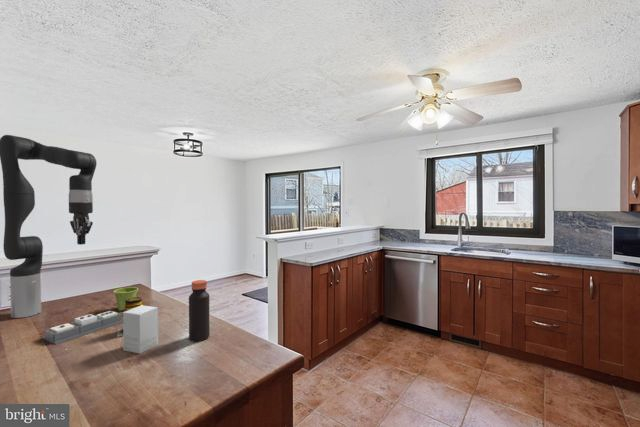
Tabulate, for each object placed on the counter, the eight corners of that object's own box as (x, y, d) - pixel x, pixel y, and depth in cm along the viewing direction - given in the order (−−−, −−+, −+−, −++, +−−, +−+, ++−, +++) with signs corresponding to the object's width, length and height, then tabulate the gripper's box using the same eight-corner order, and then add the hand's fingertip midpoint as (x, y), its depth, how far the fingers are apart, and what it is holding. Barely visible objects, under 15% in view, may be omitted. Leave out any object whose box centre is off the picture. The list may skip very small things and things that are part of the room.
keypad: (42, 338, 104) (42, 329, 104) (110, 317, 123) (110, 310, 123) (55, 344, 99) (55, 335, 99) (124, 321, 119) (124, 314, 119)
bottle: (213, 335, 107) (213, 280, 106) (198, 343, 101) (198, 285, 100) (199, 332, 110) (199, 278, 109) (184, 339, 104) (184, 282, 103)
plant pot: (133, 304, 140) (132, 285, 140) (142, 308, 135) (142, 289, 135) (110, 309, 133) (109, 290, 133) (118, 314, 127) (118, 294, 127)
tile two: (74, 325, 110) (74, 317, 110) (90, 321, 115) (90, 313, 115) (81, 328, 108) (81, 319, 108) (97, 323, 112) (97, 315, 112)
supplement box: (159, 344, 100) (159, 307, 100) (139, 354, 93) (139, 314, 93) (142, 340, 102) (142, 304, 102) (122, 350, 95) (122, 311, 95)
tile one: (50, 336, 104) (50, 327, 104) (67, 330, 108) (67, 322, 108) (57, 339, 102) (57, 329, 101) (74, 333, 106) (74, 324, 106)
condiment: (144, 332, 110) (144, 299, 109) (117, 337, 105) (116, 303, 105) (143, 325, 116) (143, 294, 116) (117, 330, 111) (117, 298, 111)
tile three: (96, 321, 117) (96, 313, 117) (110, 317, 121) (110, 309, 121) (103, 324, 114) (103, 316, 114) (117, 319, 119) (117, 311, 119)
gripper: (61, 201, 119) (62, 244, 119) (78, 201, 113) (78, 246, 113) (83, 201, 126) (83, 242, 126) (100, 201, 120) (100, 244, 120)
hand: (81, 244), depth 120 cm, fingers closed
